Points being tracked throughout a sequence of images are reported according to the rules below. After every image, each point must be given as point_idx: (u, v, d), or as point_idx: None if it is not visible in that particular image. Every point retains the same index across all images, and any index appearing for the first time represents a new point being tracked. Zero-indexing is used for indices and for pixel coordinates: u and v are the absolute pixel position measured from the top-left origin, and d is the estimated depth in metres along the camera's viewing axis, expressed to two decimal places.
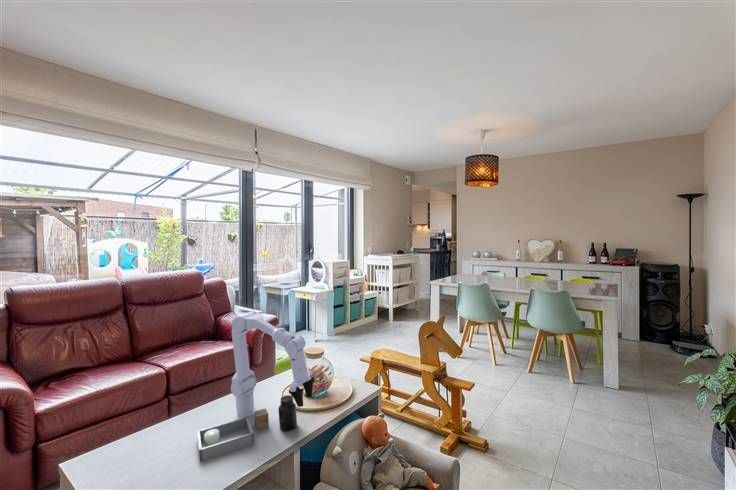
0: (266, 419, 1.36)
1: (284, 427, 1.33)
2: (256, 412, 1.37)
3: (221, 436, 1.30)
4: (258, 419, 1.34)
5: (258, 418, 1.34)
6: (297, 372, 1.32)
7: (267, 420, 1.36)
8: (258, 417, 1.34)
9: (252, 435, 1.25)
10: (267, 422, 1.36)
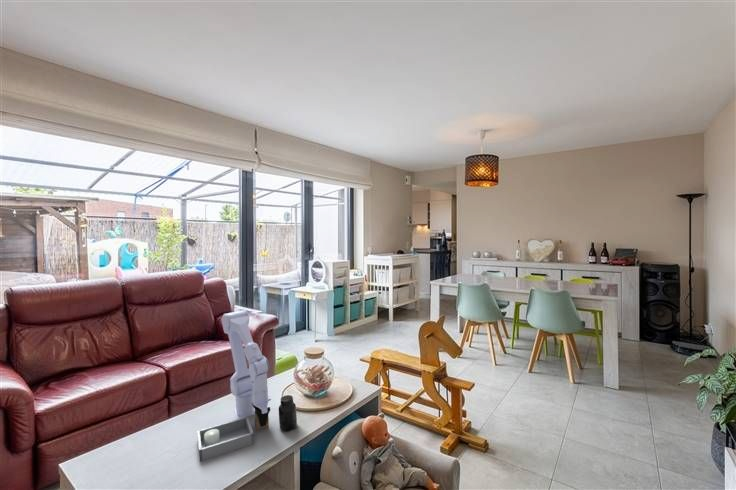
0: None
1: (284, 426, 1.33)
2: None
3: (221, 436, 1.30)
4: (258, 419, 1.34)
5: None
6: (263, 394, 1.34)
7: (267, 420, 1.36)
8: None
9: (252, 435, 1.25)
10: (267, 422, 1.36)
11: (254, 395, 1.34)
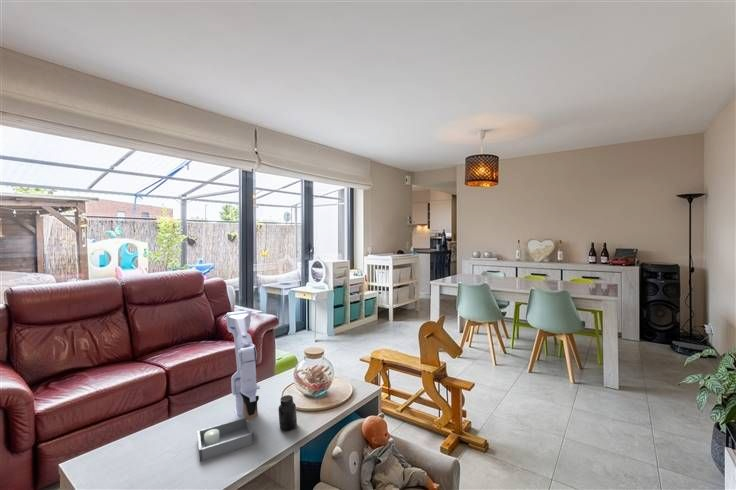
0: (255, 408, 1.31)
1: (284, 427, 1.33)
2: None
3: (221, 436, 1.30)
4: (246, 408, 1.30)
5: (246, 407, 1.30)
6: (251, 382, 1.30)
7: (256, 409, 1.32)
8: None
9: (252, 435, 1.25)
10: (256, 411, 1.32)
11: (242, 383, 1.30)
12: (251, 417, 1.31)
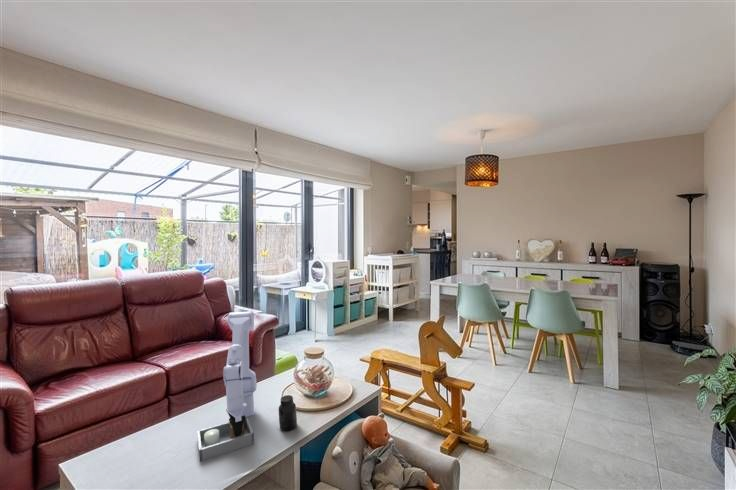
0: None
1: (284, 427, 1.33)
2: None
3: (221, 436, 1.30)
4: (233, 431, 1.26)
5: None
6: (237, 400, 1.26)
7: (243, 431, 1.28)
8: None
9: (252, 435, 1.25)
10: (243, 434, 1.28)
11: (228, 402, 1.25)
12: None
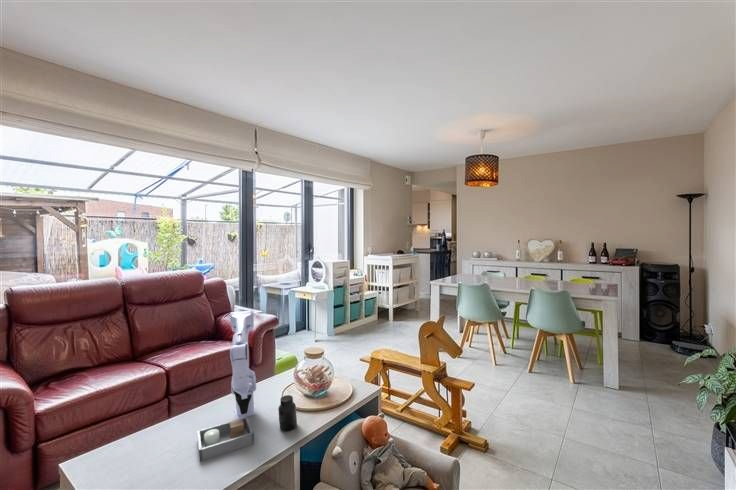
0: (241, 430, 1.27)
1: (284, 427, 1.33)
2: (231, 423, 1.28)
3: (221, 436, 1.30)
4: (233, 431, 1.26)
5: (233, 429, 1.26)
6: (243, 379, 1.30)
7: (243, 431, 1.28)
8: (233, 428, 1.26)
9: (252, 435, 1.25)
10: (243, 434, 1.28)
11: (234, 380, 1.30)
12: None
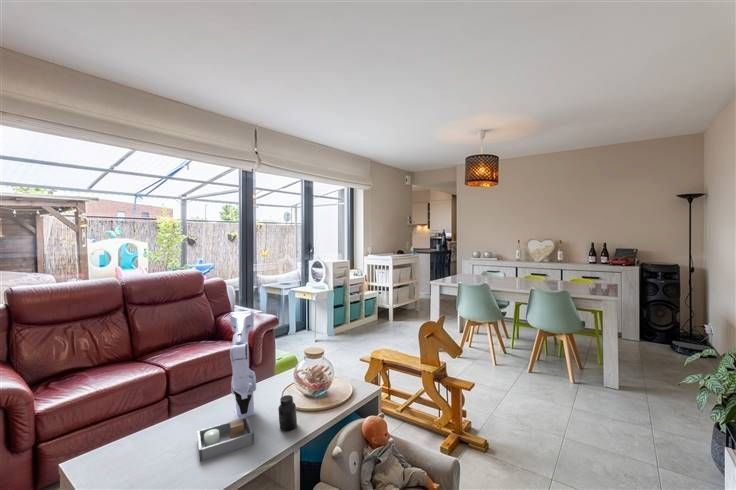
0: (241, 430, 1.27)
1: (284, 427, 1.33)
2: (231, 423, 1.28)
3: (221, 436, 1.30)
4: (233, 431, 1.26)
5: (233, 429, 1.26)
6: (243, 379, 1.30)
7: (243, 431, 1.28)
8: (233, 428, 1.26)
9: (252, 435, 1.25)
10: (243, 434, 1.28)
11: (234, 380, 1.30)
12: None
